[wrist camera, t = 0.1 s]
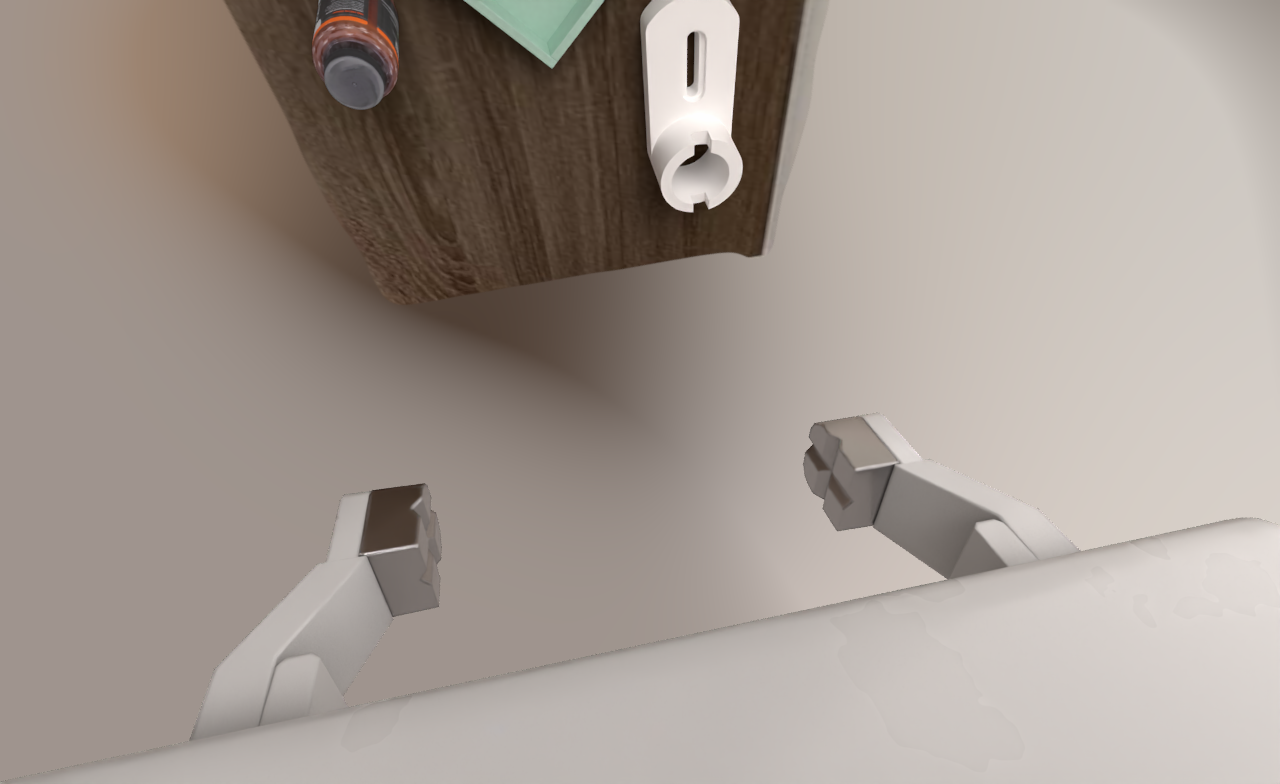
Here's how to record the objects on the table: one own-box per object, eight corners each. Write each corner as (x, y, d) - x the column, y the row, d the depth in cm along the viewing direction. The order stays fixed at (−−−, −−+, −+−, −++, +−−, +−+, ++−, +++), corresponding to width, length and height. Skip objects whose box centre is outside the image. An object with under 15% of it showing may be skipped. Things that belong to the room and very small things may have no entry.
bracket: (721, 167, 70) (739, 204, 67) (648, 180, 70) (662, 218, 66) (734, -26, 54) (758, 9, 50) (638, -10, 53) (655, 27, 49)
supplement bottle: (301, -7, 48) (286, 67, 42) (362, -47, 47) (355, 23, 41) (358, 60, 53) (352, 135, 47) (414, 25, 52) (415, 98, 46)
